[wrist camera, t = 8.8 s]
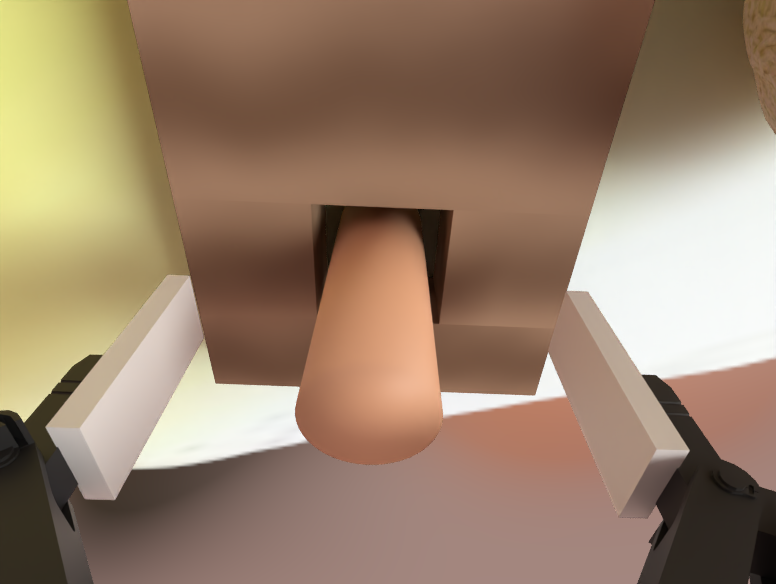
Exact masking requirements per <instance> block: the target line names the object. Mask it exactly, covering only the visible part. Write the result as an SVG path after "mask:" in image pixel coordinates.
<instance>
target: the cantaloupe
mask: <svg viewBox="0 0 776 584" xmlns="http://www.w3.org/2000/svg"><path fill="white" fill-rule="evenodd" d="M743 29H744V38H745V45H746V51H747V55H748V59H749V62H750V65H751V66H752V68H753V72H754V77H755V82H756V87H757V92H758V96H759V100H760V104H761V108H762V111H763V114H764V117H765V119H766V121H767V122H768V124H769V125H770V127H771V128H772V130H773V131H774V133H775V134H776V0H745V2H744V9H743Z"/></svg>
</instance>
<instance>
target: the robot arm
mask: <svg viewBox="0 0 776 584" xmlns="http://www.w3.org/2000/svg"><path fill="white" fill-rule="evenodd" d="M203 339H204V335H203V331H202V327H201V322H200V318H199V314H198V310H197V305H196V301H195V297H194V292H193V288H192V284H191V279H190V276H186V275H167V276H166V277H165V278H164V280H163V281H162V282H161V283H160V285H159V286H158V287H157V288H156V290H155V291H154V292H153V293H152V295H151V296H150V297H149V298H148V300H147V301H146V302H145V303H144V305H143V306H142V307H141V308H140V310H139V311H138V312H137V313H136V315H135V316H134V317H133V318H132V320H131V321H130V322H129V323H128V325H127V326H126V327H125V328H124V330H123V331H122V332H121V333H120V335H119V336H118V337H117V338H116V340H115V341H114V342H113V343H112V345H111V346H110V347H109V348H108V350H107V351H106V352H105V353H104V355H89V356H87V357H86V358H84V359H83V360H81V361H80V362H78V363H77V364H75V365H74V366H73V367H72V368H71V369H70V370H69V371H68V372H67V374H66V375H65V376H64V377H63V378H62V379H61V383H58V384H57V385H56V386H55V388H54V389H53V390H52V393H51V394H49V395H48V396H47V397H46V398H45V399H44V400H43V402H42V403H41V404H40V405H39V406H38V407H37V409H36V410H35V411H34V412H33V413H32V414H31V416H30V417H29V418H28V419H27V420H26V421H25V423H23V421H22V419H21V418H20V416H19V415H18V414H17V413H15V412H12V411H9V410H5V411H0V584H94V583H93V580H92V576H91V572H90V569H89V565H88V561H87V558H86V554H85V550H84V547H83V543H82V539H81V536H80V533H79V529H78V525H77V521H76V517H75V514H74V510H73V506H72V505H71V503H70V501H69V498H70V496H71V495H72V493H73V492H74V490H75V488H76V487H77V485H78V487H79V489H80V491H81V493H82V494H83V496H84V498H85V499H103V500H115V498H116V497H117V495H118V493H119V491H120V489H121V488H122V486H123V484H124V482H125V480H126V478H127V477H128V475H129V473H130V471H131V469H132V468H133V466H134V464H135V462H136V460H137V459H138V457H139V455H140V453H141V451H142V449H143V448H144V446H145V444H146V442H147V440H148V439H149V437H150V435H151V433H152V431H153V429H154V428H155V426H156V424H157V422H158V420H159V419H160V417H161V415H162V413H163V411H164V409H165V408H166V406H167V404H168V402H169V400H170V399H171V397H172V395H173V393H174V391H175V389H176V388H177V386H178V384H179V382H180V380H181V379H182V377H183V375H184V373H185V371H186V369H187V368H188V366H189V364H190V362H191V360H192V359H193V357H194V355H195V353H196V351H197V349H198V348H199V346H200V344H201V342H202V340H203ZM548 352H549V355H550V357H551V359H552V362H553V364H554V367H555V369H556V371H557V374H558V376H559V378H560V381H561V383H562V385H563V388H564V390H565V392H566V395H567V397H568V399H569V402H570V404H571V407H572V409H573V411H574V413H575V416H576V418H577V421H578V423H579V425H580V428H581V430H582V432H583V435H584V437H585V439H586V442H587V444H588V447H589V449H590V451H591V454H592V456H593V458H594V461H595V463H596V465H597V467H598V470H599V472H600V474H601V477H602V479H603V482H604V484H605V487H606V489H607V491H608V494H609V496H610V498H611V501H612V503H613V505H614V508H615V510H616V512H617V515H618V517H622V518H648V517H649V515H650V514H651V512H652V510H653V509H654V507H655V506H656V505H657V507H658V509H659V511H660V513H661V515H662V517H663V521H662V522H661V524H660V526H659V527H658V529H657V530H656V531H655V533H654V534H653V536H652V538H651V539H650V541H649V543H651V544H652V546H651V549H650V552H649V554H648V557H647V559H646V562H645V565H644V567H643V570H642V572H641V575H640V578H639V580H638V583H637V584H748V579H749V577H750V584H776V492H775V491H772V490H768V489H765V488H762V487H759V485H758V484H757V482H756V481H755V480H754V479H753V478H752V477H751V476H750V475H749V474H748V473H747V472H745V471H744V470H742V469H741V468H739V467H738V466H736V465H734V464H732V463H729V462H727V461H724V460H721V459H720V457H719V456H718V454H717V453H716V451H715V450H714V449H713V447H712V446H711V445H710V443H709V441H708V440H707V439H706V437H705V436H704V435H703V433H702V431H701V430H700V428H699V427H698V426H697V424H696V423H695V421H694V420H693V419H692V417H690V416H689V413H688V411H687V410H686V408H685V407H684V405H681V401H680V400H679V398H678V397H677V395H676V394H675V393H674V391H673V390H672V388H671V387H670V386H668V385H667V384H666V383H665V382H663V381H662V380H661V379H660V378H659V377H657V376H656V375H641V374H640V372H639V371H638V369H637V367H636V366H635V364H634V363H633V361H632V360H631V358H630V357H629V355H628V353H627V352H626V350H625V349H624V347H623V346H622V344H621V343H620V341H619V339H618V338H617V336H616V335H615V333H614V332H613V330H612V328H611V327H610V325H609V324H608V322H607V321H606V319H605V318H604V316H603V314H602V313H601V311H600V310H599V308H598V307H597V305H596V304H595V302H594V300H593V299H592V297H591V296H590V294H589V293H588V292H584V291H566V293H565V296H564V299H563V303H562V306H561V309H560V313H559V316H558V319H557V323H556V326H555V329H554V332H553V336H552V339H551V342H550V346H549V349H548Z"/></svg>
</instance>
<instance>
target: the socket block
mask: <svg viewBox="0 0 776 584" xmlns="http://www.w3.org/2000/svg"><path fill="white" fill-rule="evenodd" d="M127 1H128V6H129V10H130V14H131V19H132V23H133V27H134V32H135V36H136V40H137V45H138V49H139V53H140V58H141V62H142V66H143V71H144V75H145V79H146V84H147V88H148V92H149V97H150V101H151V105H152V110H153V114H154V118H155V123H156V127H157V131H158V136H159V140H160V144H161V149H162V153H163V157H164V162H165V166H166V170H167V175H168V179H169V183H170V188H171V192H172V196H173V201H174V205H175V209H176V214H177V218H178V222H179V227H180V231H181V235H182V240H183V244H184V248H185V253H186V257H187V262H188V266H189V270H190V275H191V279H192V283H193V288H194V292H195V296H196V301H197V305H198V309H199V314H200V318H201V322H202V327H203V331H204V335H205V340H206V344H207V348H208V353H209V357H210V361H211V366H212V370H213V374H214V379H215V383H218V384H244V385H271V386H297V387H300V385H301V381H302V377H303V373H304V369H305V365H306V360H307V356H308V352H309V348H310V344H311V340H312V335H313V331H314V327H315V323H316V319H317V315H318V311H319V306H320V302H321V298H322V294H323V290H324V286H325V281H326V277H327V273H328V261H327V235H326V208H325V205H344V206H367V207H391V208H415V209H439V210H440V219H439V229H438V238H437V247H436V256H435V265H434V274H433V278H431V277H428V286H429V295H430V304H431V313H432V322H433V330H434V339H435V348H436V357H437V366H438V375H439V384H440V392H457V393H484V394H510V395H535V394H536V390H537V387H538V384H539V380H540V377H541V374H542V371H543V367H544V364H545V361H546V357H547V354H548V349H549V346H550V342H551V339H552V336H553V332H554V329H555V326H556V323H557V319H558V316H559V313H560V309H561V306H562V303H563V299H564V296H565V293H566V291H567V288H568V285H569V282H570V278H571V275H572V272H573V269H574V265H575V262H576V259H577V255H578V252H579V249H580V246H581V242H582V239H583V236H584V232H585V229H586V226H587V222H588V219H589V216H590V213H591V209H592V206H593V203H594V199H595V196H596V193H597V190H598V186H599V183H600V180H601V176H602V173H603V170H604V167H605V163H606V160H607V157H608V153H609V150H610V147H611V143H612V140H613V137H614V134H615V130H616V127H617V124H618V120H619V117H620V114H621V111H622V107H623V104H624V101H625V97H626V94H627V91H628V88H629V84H630V81H631V78H632V74H633V71H634V68H635V64H636V61H637V58H638V55H639V51H640V48H641V45H642V41H643V38H644V35H645V32H646V28H647V25H648V22H649V18H650V15H651V12H652V9H653V5H654V2H655V0H127Z"/></svg>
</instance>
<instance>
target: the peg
mask: <svg viewBox="0 0 776 584" xmlns="http://www.w3.org/2000/svg"><path fill="white" fill-rule="evenodd" d="M295 417H296V422H297V425H298V427H299V429H300V431H301V433H302V434H303V436H304V437H305V438H306V439H307V441H309V442H310V443H311V444H312V445H313V446H314V447H316V448H317V449H318V450H320V451H322V452H323V453H325V454H327V455H329V456H331V457H333V458H336V459H339V460H342V461H346V462H350V463H356V464H365V465H379V464H388V463H394V462H398V461H401V460H404V459H407V458H410V457H412V456H413V455H415V454H418V453H419V452H421V451H422V450H424V449H425V448H426V447H427V446H429V445H430V444H431V443H432V442H433V440H434V439H435V438H436V436H437V435H438V433H439V431H440V428H441V425H442V422H443V410H442V402H441V393H440V384H439V375H438V366H437V357H436V348H435V339H434V330H433V322H432V313H431V304H430V295H429V286H428V277H427V268H426V259H425V250H424V242H423V233H422V224H421V218H420V215H419V212H418V210H417V209H415V208H391V207H367V206H346V207H345V208H344V210H343V213H342V215H341V219H340V223H339V227H338V232H337V236H336V240H335V244H334V248H333V252H332V257H331V261H330V265H329V269H328V273H327V277H326V281H325V286H324V290H323V294H322V298H321V302H320V306H319V311H318V315H317V319H316V323H315V327H314V331H313V335H312V340H311V344H310V348H309V352H308V356H307V360H306V365H305V369H304V373H303V377H302V381H301V385H300V389H299V394H298V398H297V402H296V407H295Z"/></svg>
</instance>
